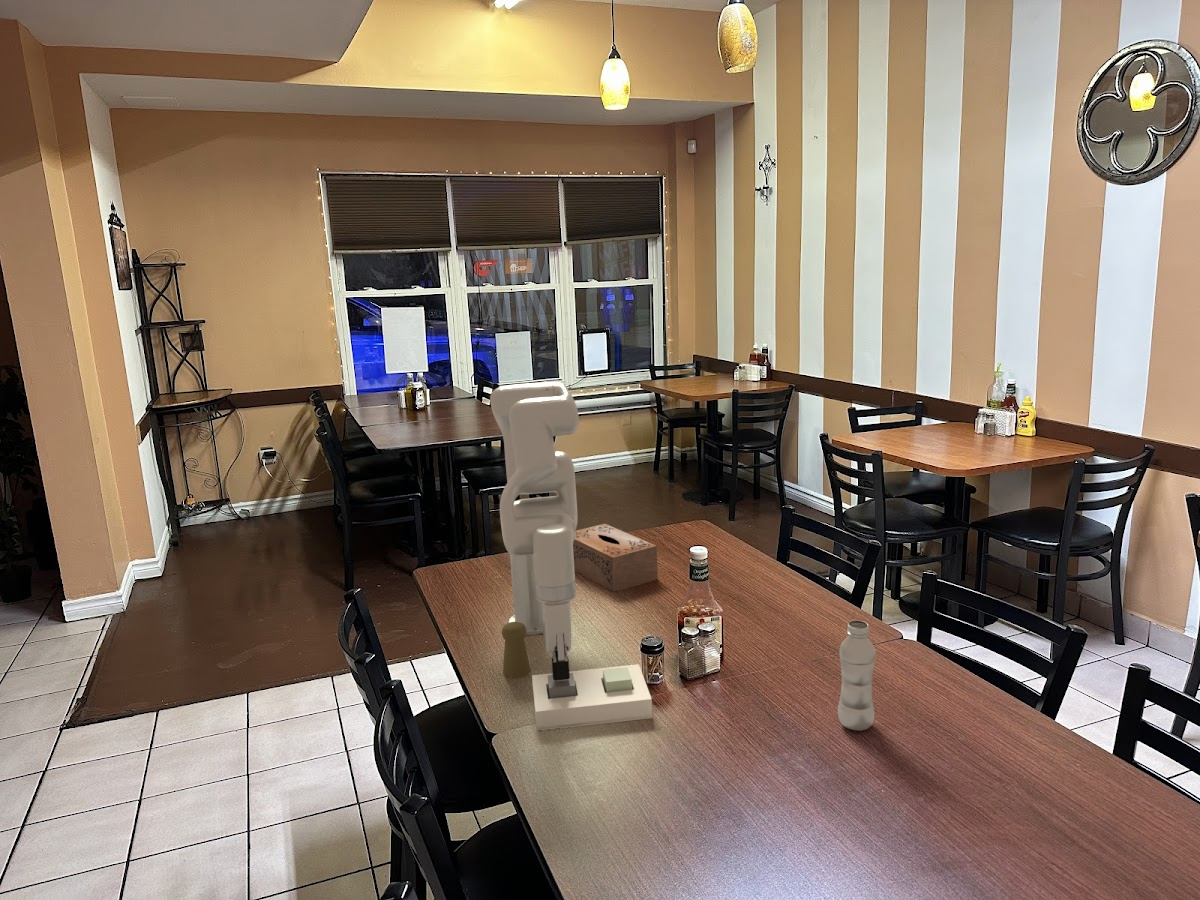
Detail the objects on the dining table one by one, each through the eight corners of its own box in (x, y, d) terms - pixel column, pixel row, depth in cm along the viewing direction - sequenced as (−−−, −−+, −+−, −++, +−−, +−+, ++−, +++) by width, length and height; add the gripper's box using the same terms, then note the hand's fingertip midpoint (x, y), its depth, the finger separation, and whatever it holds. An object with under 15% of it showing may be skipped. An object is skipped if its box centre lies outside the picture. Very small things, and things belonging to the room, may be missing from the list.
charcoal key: (548, 689, 159) (547, 675, 158) (573, 686, 159) (572, 672, 159) (550, 702, 154) (549, 688, 153) (576, 699, 154) (575, 685, 154)
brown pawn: (526, 679, 169) (523, 631, 167) (499, 677, 170) (495, 629, 168) (534, 665, 175) (531, 618, 172) (508, 664, 176) (504, 617, 174)
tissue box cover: (657, 580, 220) (656, 545, 218) (614, 593, 213) (612, 557, 211) (606, 555, 242) (605, 523, 240) (565, 566, 234) (563, 533, 232)
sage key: (603, 683, 160) (602, 669, 159) (628, 680, 160) (627, 667, 160) (606, 696, 155) (606, 682, 154) (632, 693, 156) (631, 679, 155)
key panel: (533, 693, 163) (531, 675, 162) (639, 681, 166) (638, 664, 165) (536, 731, 150) (535, 711, 149) (652, 718, 152) (651, 698, 151)
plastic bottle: (874, 718, 149) (877, 618, 145) (873, 738, 143) (877, 634, 138) (838, 713, 151) (840, 614, 147) (836, 732, 145) (838, 630, 140)
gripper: (534, 577, 158) (539, 662, 162) (538, 606, 144) (544, 699, 148) (571, 573, 159) (576, 658, 163) (579, 602, 145) (584, 695, 149)
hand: (561, 677), depth 155 cm, fingers closed
